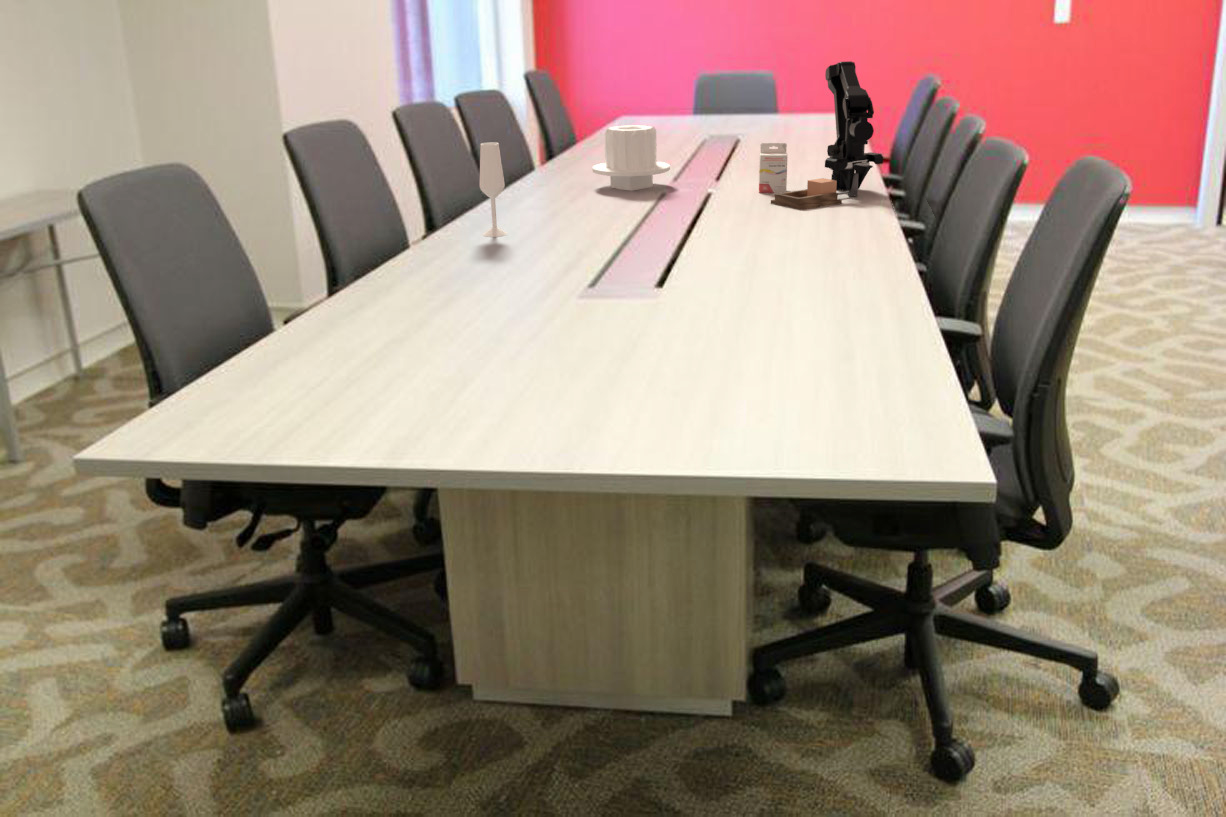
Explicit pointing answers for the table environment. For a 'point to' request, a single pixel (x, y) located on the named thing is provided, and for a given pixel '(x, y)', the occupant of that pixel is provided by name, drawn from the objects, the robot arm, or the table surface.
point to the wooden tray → (805, 200)
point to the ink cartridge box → (773, 168)
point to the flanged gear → (631, 157)
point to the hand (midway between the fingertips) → (852, 189)
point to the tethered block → (830, 186)
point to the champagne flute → (491, 180)
